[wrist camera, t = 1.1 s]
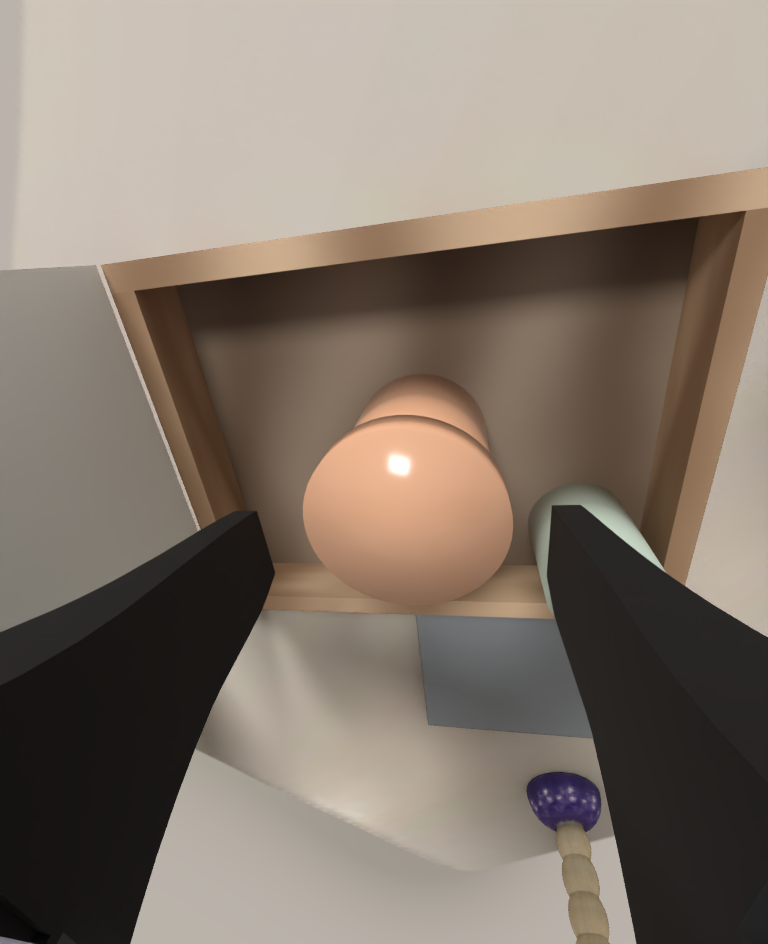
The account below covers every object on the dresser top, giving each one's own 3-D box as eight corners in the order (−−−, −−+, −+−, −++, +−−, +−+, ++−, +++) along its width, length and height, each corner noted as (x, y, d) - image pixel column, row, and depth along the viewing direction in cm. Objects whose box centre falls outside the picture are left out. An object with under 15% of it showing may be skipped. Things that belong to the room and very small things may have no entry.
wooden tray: (731, 179, 12) (797, 162, 9) (647, 575, 18) (674, 622, 16) (154, 262, 15) (100, 265, 13) (254, 570, 21) (230, 608, 19)
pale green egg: (631, 481, 16) (680, 548, 12) (618, 558, 17) (659, 637, 14) (529, 484, 16) (548, 548, 13) (526, 558, 18) (543, 633, 14)
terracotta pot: (494, 359, 14) (515, 423, 9) (494, 495, 17) (511, 608, 12) (342, 371, 15) (282, 435, 10) (362, 498, 18) (322, 603, 13)
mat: (695, 594, 18) (699, 601, 18) (654, 736, 22) (657, 743, 22) (414, 588, 20) (413, 594, 20) (428, 718, 25) (428, 724, 24)
